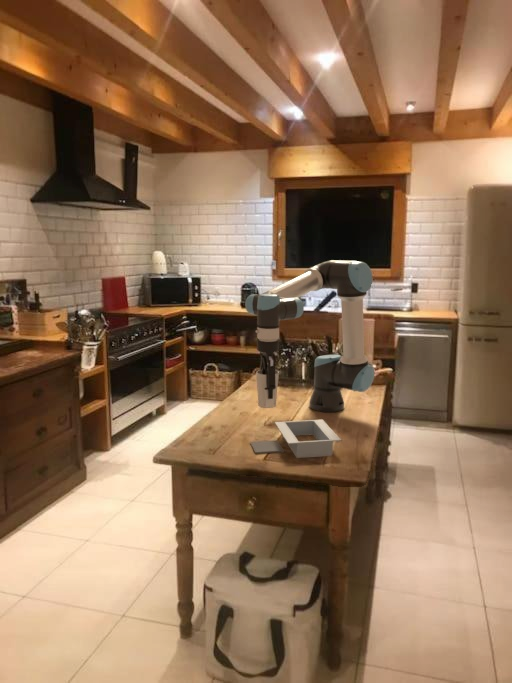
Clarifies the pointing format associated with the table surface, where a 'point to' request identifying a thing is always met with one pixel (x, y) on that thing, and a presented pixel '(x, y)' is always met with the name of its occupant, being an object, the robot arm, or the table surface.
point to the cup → (261, 388)
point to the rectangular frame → (308, 428)
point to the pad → (266, 447)
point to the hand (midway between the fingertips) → (267, 403)
